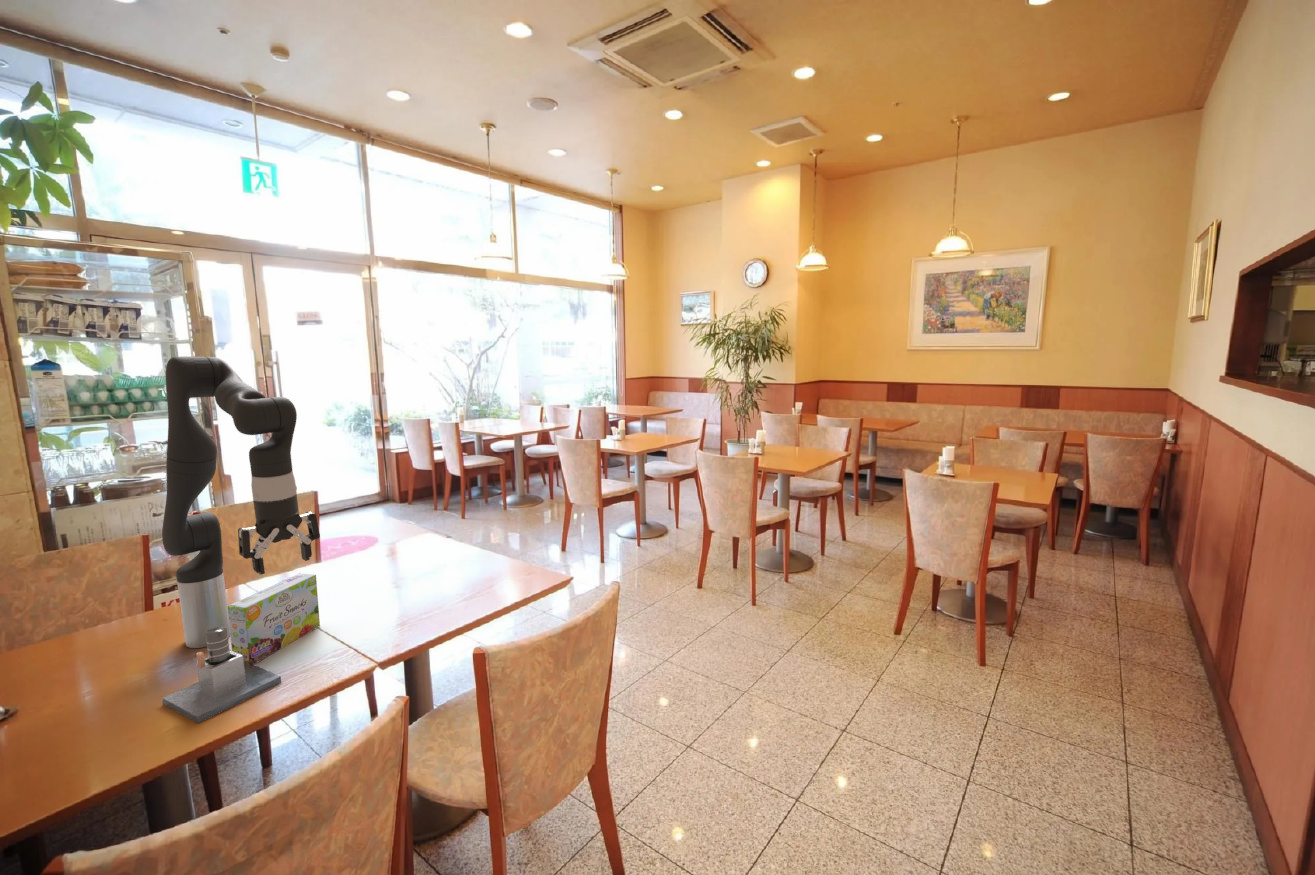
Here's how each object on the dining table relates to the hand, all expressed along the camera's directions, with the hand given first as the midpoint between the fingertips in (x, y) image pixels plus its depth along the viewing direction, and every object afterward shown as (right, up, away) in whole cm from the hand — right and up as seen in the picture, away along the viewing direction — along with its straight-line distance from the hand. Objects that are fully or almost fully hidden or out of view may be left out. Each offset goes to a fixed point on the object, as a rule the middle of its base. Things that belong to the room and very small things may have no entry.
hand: (283, 566), depth 120 cm
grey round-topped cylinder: (-15, -26, +3) cm, 30 cm away
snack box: (-17, -26, +24) cm, 39 cm away
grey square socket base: (-15, -28, +3) cm, 32 cm away
